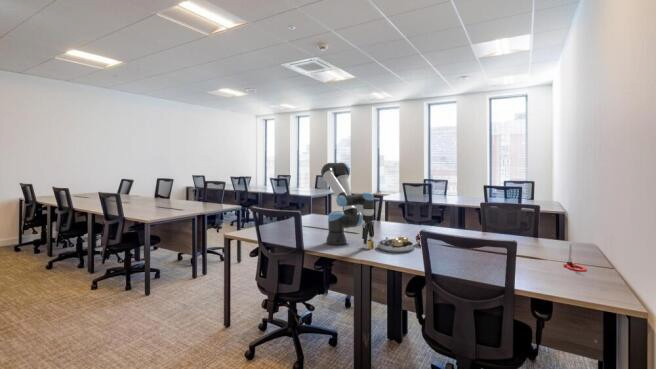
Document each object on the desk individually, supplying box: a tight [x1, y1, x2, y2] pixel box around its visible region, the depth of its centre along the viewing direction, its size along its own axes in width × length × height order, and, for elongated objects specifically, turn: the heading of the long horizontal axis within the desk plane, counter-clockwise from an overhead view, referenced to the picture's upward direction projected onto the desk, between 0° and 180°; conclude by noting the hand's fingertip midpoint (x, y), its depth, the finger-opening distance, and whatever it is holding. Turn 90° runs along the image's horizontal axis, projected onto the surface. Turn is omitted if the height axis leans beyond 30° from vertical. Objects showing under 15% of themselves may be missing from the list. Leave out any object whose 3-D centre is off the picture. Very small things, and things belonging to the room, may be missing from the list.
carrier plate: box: [377, 236, 415, 254], centre depth 225 cm, size 24×24×7 cm
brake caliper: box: [415, 229, 426, 247], centre depth 232 cm, size 11×11×12 cm
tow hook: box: [562, 243, 587, 272], centre depth 175 cm, size 8×13×9 cm
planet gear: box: [362, 239, 375, 250], centre depth 227 cm, size 7×7×5 cm
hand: (368, 247), depth 228 cm, fingers closed on planet gear, 7 cm apart
